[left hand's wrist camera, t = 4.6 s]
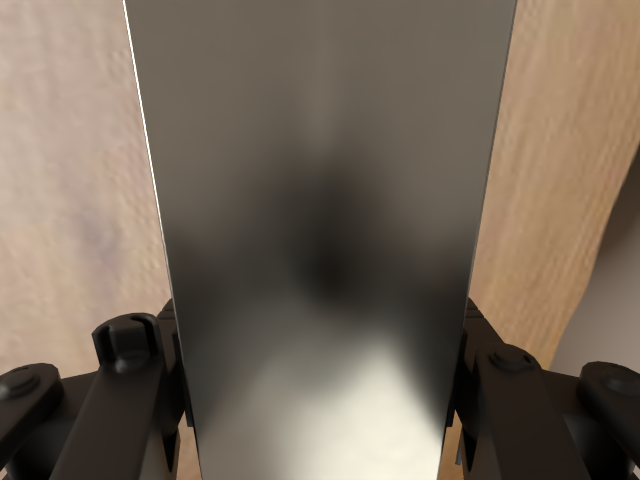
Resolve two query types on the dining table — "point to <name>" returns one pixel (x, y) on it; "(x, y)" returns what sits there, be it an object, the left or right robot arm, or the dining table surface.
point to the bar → (319, 219)
